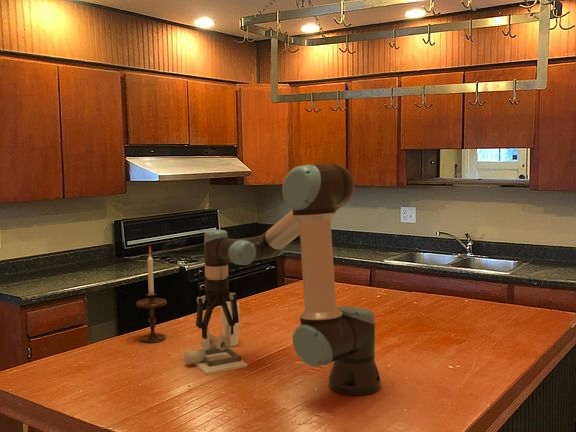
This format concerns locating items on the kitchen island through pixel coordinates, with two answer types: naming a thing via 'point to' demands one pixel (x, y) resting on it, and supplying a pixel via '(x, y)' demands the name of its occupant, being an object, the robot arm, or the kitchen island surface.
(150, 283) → the candlestick
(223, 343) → the pipe fitting
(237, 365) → the coupling board
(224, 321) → the drinking glass
